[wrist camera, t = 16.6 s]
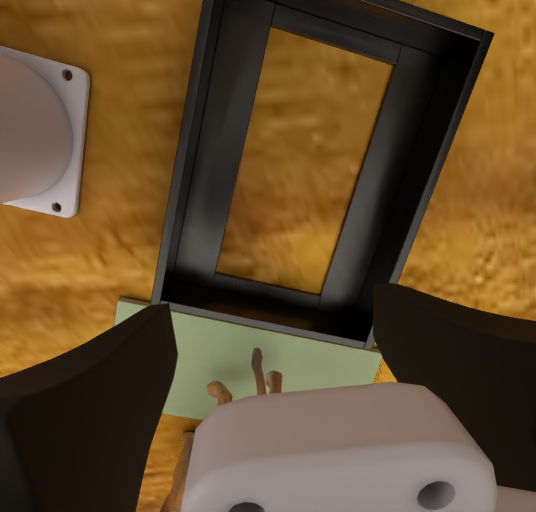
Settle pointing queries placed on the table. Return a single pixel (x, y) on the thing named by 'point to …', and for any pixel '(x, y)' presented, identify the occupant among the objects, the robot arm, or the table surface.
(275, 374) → the lion figurine
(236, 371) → the sage mat
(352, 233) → the picture frame
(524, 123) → the table surface
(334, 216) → the table surface
